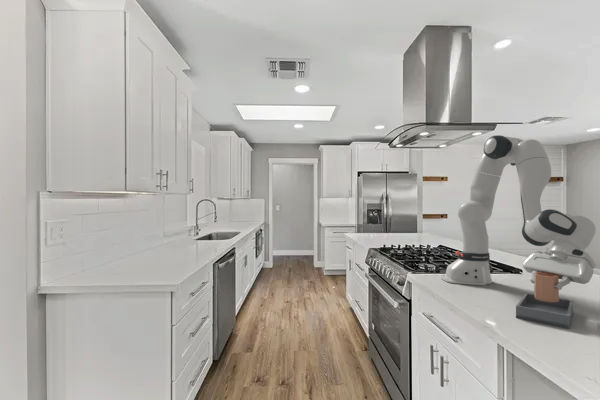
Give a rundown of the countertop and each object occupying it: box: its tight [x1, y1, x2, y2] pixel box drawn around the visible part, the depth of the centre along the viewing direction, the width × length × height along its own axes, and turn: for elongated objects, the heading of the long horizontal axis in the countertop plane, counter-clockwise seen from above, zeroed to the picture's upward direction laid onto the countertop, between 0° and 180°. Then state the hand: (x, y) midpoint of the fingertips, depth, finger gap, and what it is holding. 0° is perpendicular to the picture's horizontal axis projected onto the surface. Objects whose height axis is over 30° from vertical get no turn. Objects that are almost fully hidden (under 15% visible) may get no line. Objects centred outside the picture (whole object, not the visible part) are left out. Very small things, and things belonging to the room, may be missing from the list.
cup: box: [533, 272, 560, 302], centre depth 112 cm, size 6×6×8 cm
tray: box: [515, 292, 574, 330], centre depth 112 cm, size 20×14×4 cm
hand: (544, 285), depth 111 cm, fingers closed on cup, 6 cm apart
